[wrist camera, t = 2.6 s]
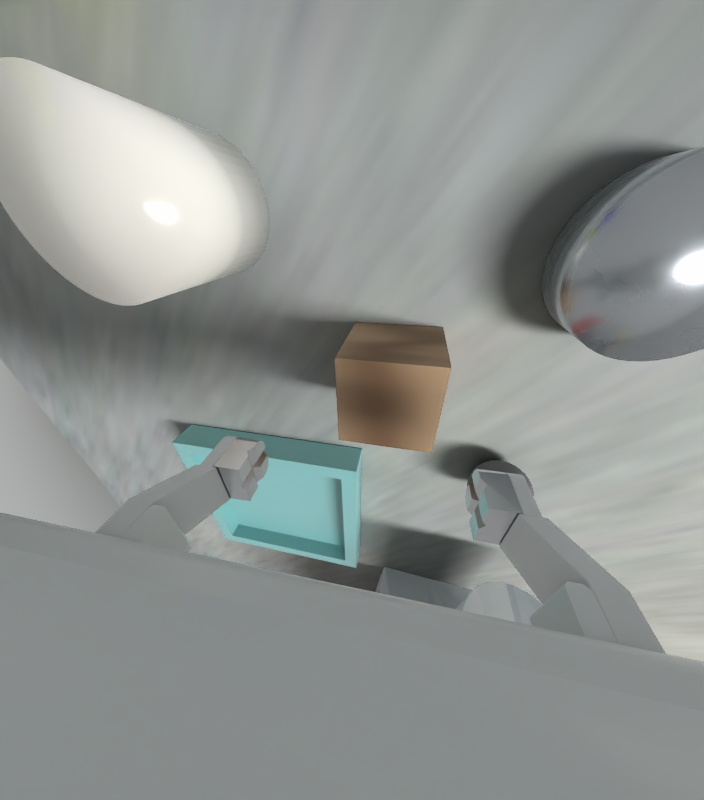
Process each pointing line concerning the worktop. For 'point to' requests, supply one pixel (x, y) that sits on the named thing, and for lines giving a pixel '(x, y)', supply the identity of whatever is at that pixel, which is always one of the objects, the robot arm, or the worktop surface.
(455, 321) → the worktop surface
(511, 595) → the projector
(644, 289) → the grey metal dome
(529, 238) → the worktop surface
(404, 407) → the walnut block
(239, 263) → the ceramic jar
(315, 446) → the tray
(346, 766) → the robot arm
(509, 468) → the rubber ball
